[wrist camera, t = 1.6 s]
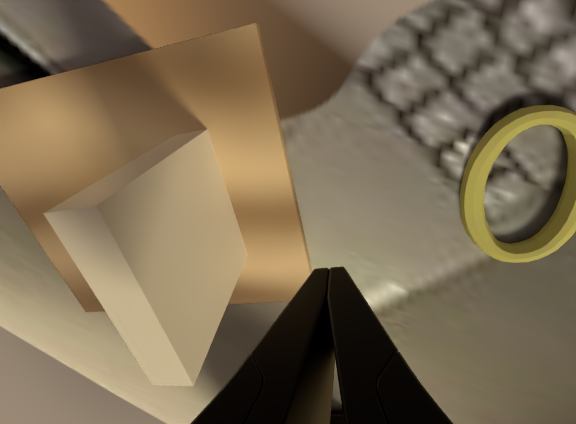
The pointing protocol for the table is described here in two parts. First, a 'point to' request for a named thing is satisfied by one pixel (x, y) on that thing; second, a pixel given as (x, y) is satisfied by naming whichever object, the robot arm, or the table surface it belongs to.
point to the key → (562, 224)
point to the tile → (159, 252)
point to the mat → (152, 132)
